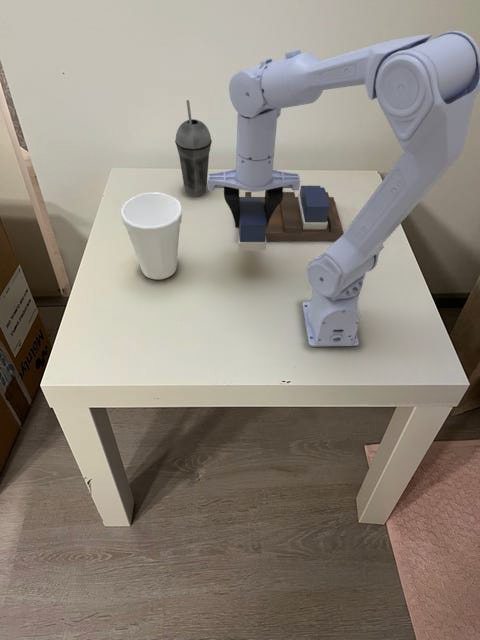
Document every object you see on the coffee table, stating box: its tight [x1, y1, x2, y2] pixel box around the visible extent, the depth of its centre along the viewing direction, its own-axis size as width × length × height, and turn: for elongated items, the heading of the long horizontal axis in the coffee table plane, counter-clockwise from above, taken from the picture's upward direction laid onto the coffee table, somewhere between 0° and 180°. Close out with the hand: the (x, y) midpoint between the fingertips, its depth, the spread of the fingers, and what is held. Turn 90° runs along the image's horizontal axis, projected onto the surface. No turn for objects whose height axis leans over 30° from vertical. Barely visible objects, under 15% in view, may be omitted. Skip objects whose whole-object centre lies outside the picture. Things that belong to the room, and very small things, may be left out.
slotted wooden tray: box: [239, 191, 345, 242], centre depth 97 cm, size 12×20×3 cm, turn 92°
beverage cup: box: [174, 99, 213, 198], centre depth 98 cm, size 7×7×20 cm
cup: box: [120, 191, 183, 280], centre depth 83 cm, size 10×10×13 cm
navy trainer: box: [236, 199, 268, 251], centre depth 83 cm, size 10×5×5 cm, turn 3°
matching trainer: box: [297, 185, 330, 229], centre depth 96 cm, size 10×5×5 cm, turn 2°
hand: (251, 224), depth 83 cm, fingers closed on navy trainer, 4 cm apart
